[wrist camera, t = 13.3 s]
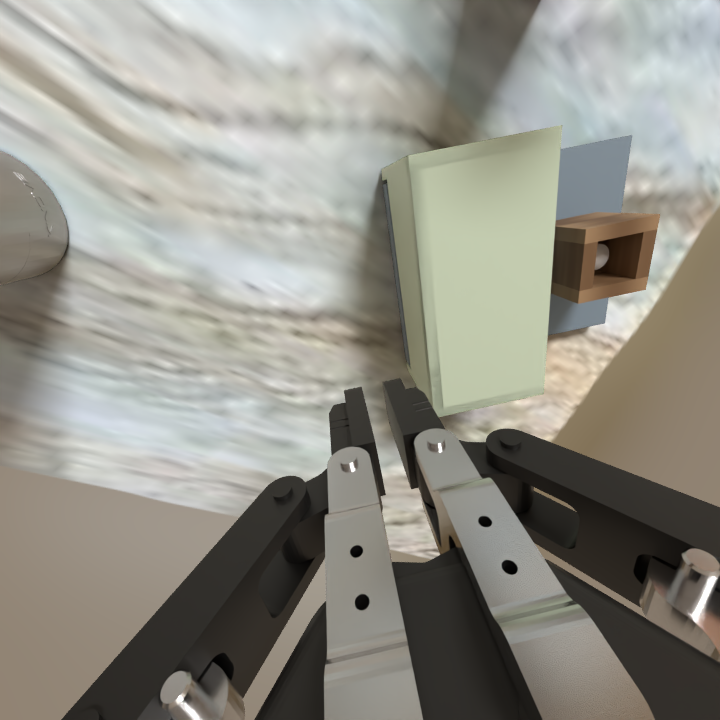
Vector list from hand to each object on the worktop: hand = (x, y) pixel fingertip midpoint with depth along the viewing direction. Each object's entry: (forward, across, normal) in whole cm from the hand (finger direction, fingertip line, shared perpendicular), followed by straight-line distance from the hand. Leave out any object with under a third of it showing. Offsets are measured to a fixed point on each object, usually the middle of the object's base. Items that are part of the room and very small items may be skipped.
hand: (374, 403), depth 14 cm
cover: (+19, -9, 0) cm, 21 cm away
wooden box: (+18, -20, 0) cm, 27 cm away
